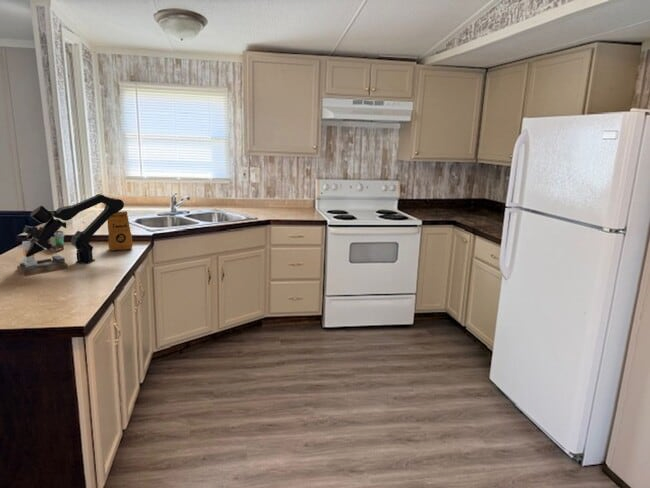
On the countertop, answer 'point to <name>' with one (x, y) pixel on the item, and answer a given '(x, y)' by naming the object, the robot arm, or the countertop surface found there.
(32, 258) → the sliding jaw
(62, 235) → the food container
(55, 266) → the base
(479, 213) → the countertop surface
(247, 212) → the countertop surface
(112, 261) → the countertop surface
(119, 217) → the coffee package
